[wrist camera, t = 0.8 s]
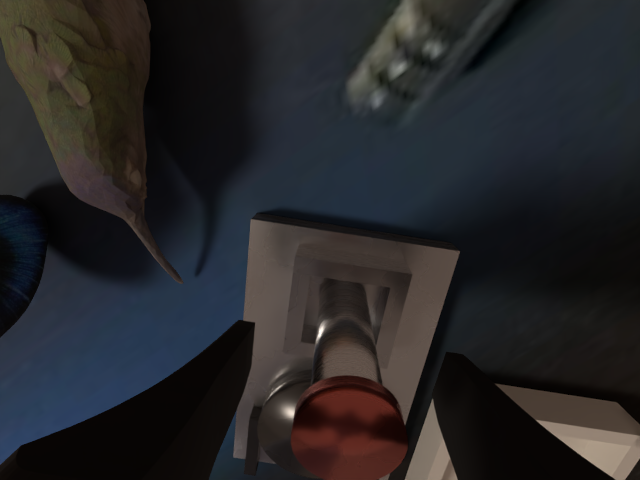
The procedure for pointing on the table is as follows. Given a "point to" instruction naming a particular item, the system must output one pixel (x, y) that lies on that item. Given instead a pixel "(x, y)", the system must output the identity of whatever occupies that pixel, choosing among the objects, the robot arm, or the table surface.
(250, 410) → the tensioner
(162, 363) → the table surface
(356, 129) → the table surface
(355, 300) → the pin
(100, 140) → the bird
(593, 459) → the tray
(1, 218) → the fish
